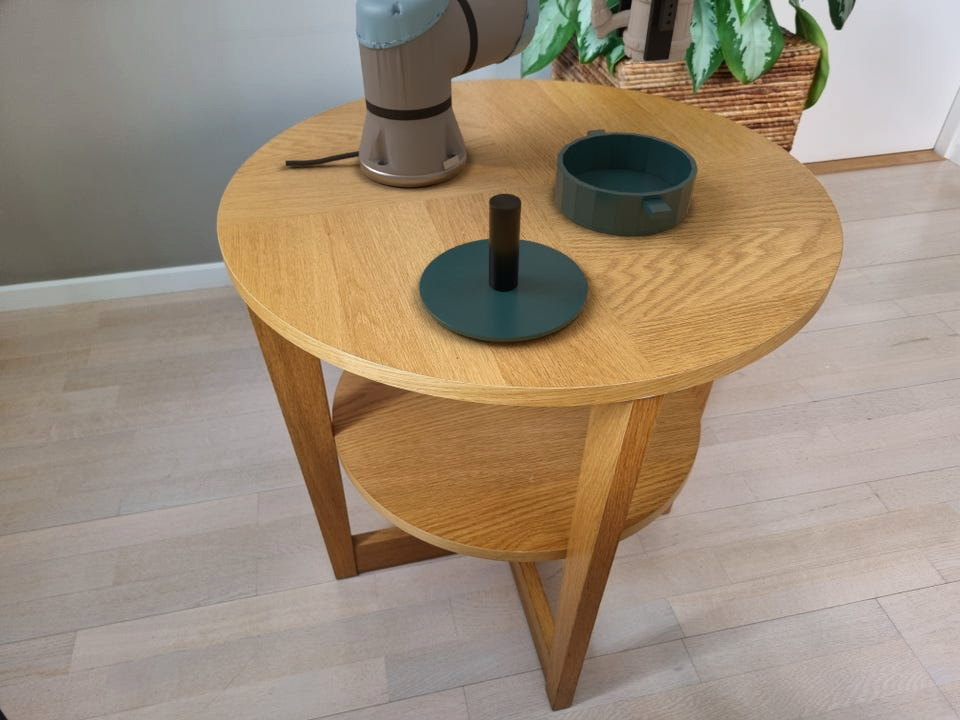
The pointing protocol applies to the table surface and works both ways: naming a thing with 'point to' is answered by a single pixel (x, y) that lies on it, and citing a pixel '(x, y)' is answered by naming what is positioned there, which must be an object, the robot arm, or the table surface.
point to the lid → (503, 283)
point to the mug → (642, 27)
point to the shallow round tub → (624, 183)
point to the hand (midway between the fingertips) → (641, 46)
